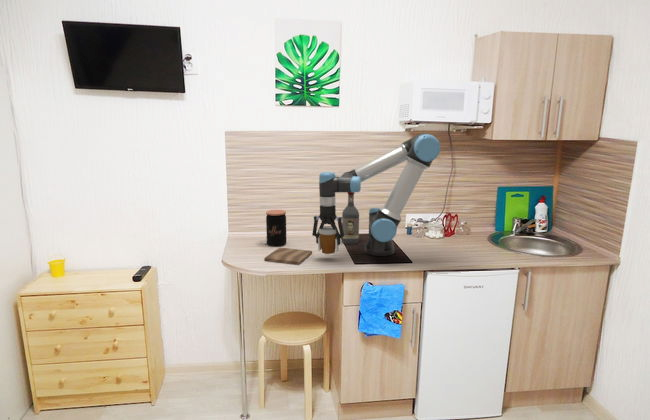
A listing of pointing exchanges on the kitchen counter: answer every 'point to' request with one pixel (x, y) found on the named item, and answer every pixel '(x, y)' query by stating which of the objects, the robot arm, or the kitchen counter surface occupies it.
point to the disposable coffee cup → (327, 239)
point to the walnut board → (288, 256)
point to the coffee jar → (276, 227)
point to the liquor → (350, 222)
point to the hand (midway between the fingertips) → (328, 250)
